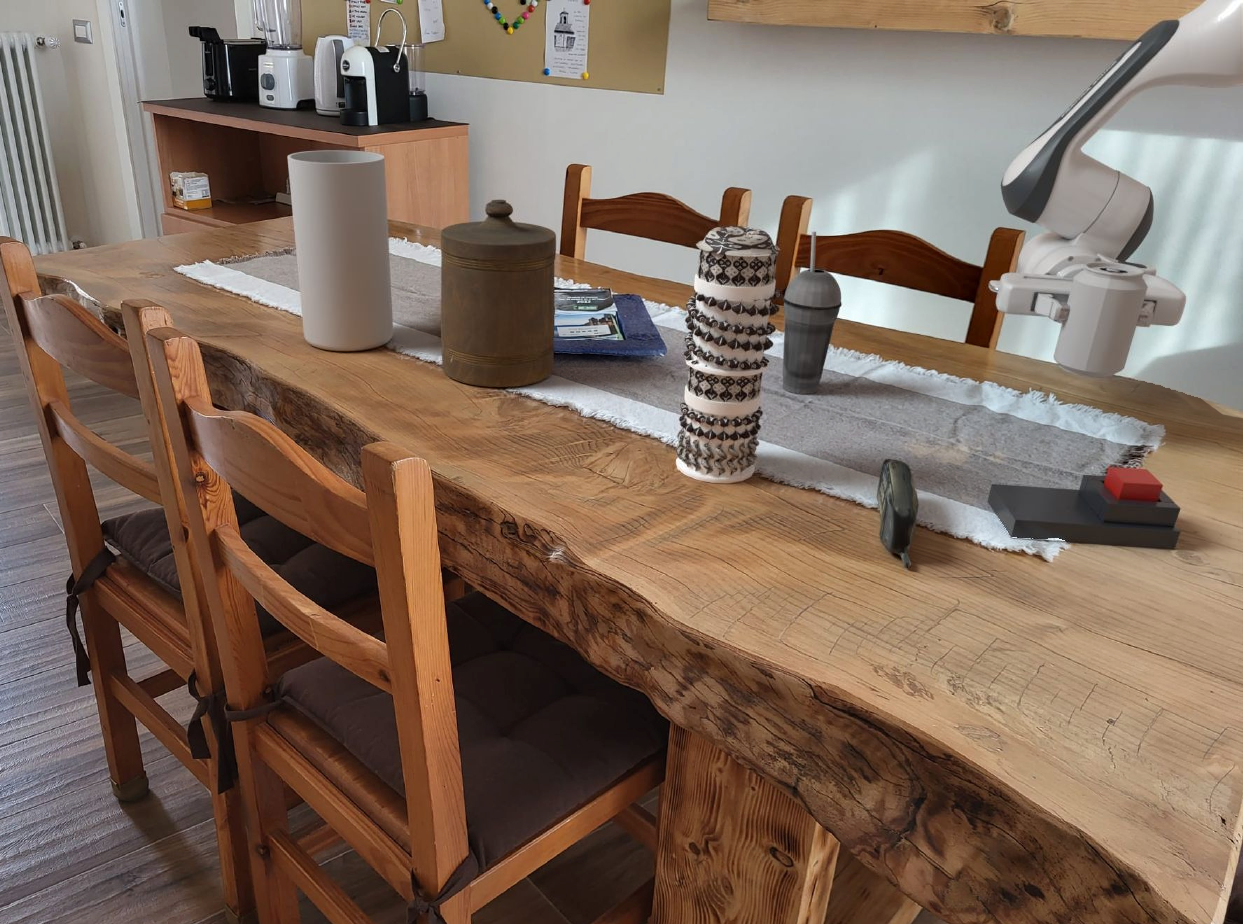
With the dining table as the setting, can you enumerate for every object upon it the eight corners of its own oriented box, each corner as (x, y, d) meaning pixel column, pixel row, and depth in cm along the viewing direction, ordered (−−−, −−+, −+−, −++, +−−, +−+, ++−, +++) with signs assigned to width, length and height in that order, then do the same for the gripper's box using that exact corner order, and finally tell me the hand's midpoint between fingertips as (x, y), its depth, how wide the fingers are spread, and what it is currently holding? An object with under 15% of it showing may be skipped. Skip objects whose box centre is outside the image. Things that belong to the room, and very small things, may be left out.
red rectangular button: (1140, 488, 97) (1147, 469, 96) (1156, 504, 94) (1163, 485, 93) (1102, 485, 97) (1108, 466, 96) (1117, 501, 94) (1123, 482, 93)
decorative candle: (772, 482, 104) (805, 240, 93) (687, 487, 102) (711, 241, 91) (740, 447, 112) (767, 221, 100) (661, 452, 110) (680, 221, 99)
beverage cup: (804, 402, 125) (827, 242, 116) (760, 385, 130) (779, 231, 121) (839, 390, 130) (864, 235, 121) (795, 375, 135) (816, 225, 126)
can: (1124, 366, 117) (1154, 264, 111) (1119, 384, 111) (1150, 277, 105) (1055, 355, 120) (1081, 255, 114) (1047, 372, 114) (1073, 267, 109)
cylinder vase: (286, 344, 139) (267, 158, 128) (338, 322, 150) (325, 147, 138) (361, 358, 135) (348, 166, 124) (410, 334, 145) (402, 155, 134)
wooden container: (560, 356, 138) (565, 193, 129) (543, 392, 125) (547, 214, 115) (457, 348, 140) (453, 187, 130) (429, 383, 127) (423, 207, 117)
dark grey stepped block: (1138, 511, 100) (1150, 475, 98) (1174, 550, 93) (1187, 512, 91) (987, 501, 101) (995, 465, 100) (1010, 538, 94) (1020, 500, 92)
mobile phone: (879, 453, 99) (892, 516, 86) (910, 456, 99) (928, 520, 86) (871, 498, 102) (882, 566, 88) (901, 501, 101) (917, 571, 88)
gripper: (991, 255, 124) (1012, 282, 112) (1167, 267, 121) (1209, 296, 109) (980, 305, 127) (1000, 336, 115) (1152, 317, 124) (1191, 351, 111)
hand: (1103, 316), depth 112 cm, fingers closed on can, 7 cm apart
